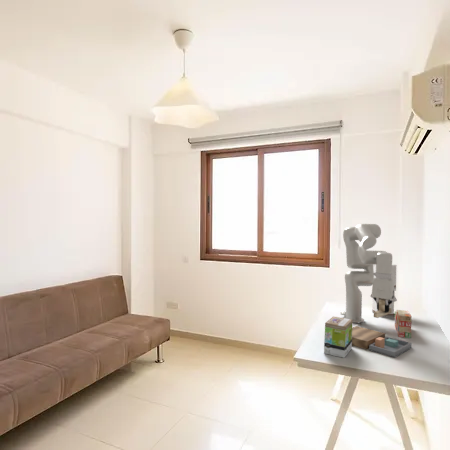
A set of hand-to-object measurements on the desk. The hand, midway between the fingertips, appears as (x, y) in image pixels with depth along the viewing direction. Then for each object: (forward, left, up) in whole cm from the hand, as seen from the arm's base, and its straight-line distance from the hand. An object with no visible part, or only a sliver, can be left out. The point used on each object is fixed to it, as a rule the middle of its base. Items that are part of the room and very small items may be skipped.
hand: (382, 311), depth 174 cm
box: (+6, -5, -17) cm, 19 cm away
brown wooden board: (-9, -5, -17) cm, 19 cm away
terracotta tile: (+2, -9, -14) cm, 17 cm away
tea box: (-9, -28, -17) cm, 34 cm away
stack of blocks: (-1, +28, -17) cm, 33 cm away
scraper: (0, 0, -2) cm, 2 cm away
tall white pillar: (-25, +58, -17) cm, 65 cm away
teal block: (+5, -2, -13) cm, 14 cm away
